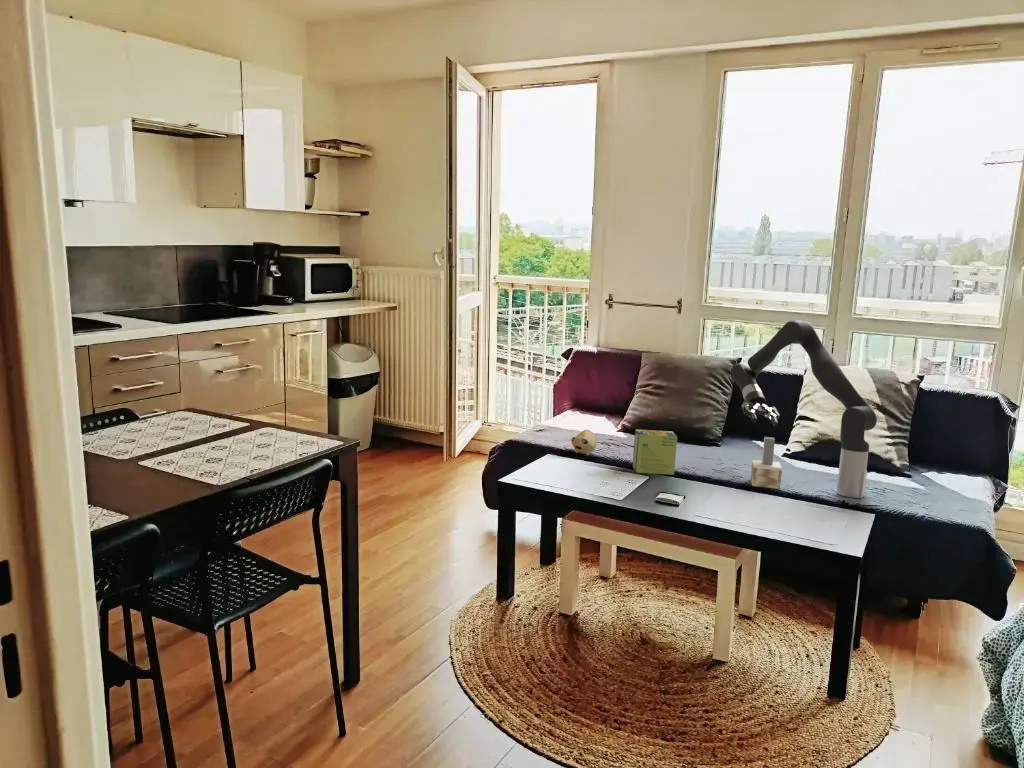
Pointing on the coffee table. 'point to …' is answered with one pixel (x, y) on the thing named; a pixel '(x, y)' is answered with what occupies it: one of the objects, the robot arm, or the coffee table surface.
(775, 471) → the storage box
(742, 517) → the coffee table surface
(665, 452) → the protein box
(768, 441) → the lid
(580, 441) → the yellow toy creature
